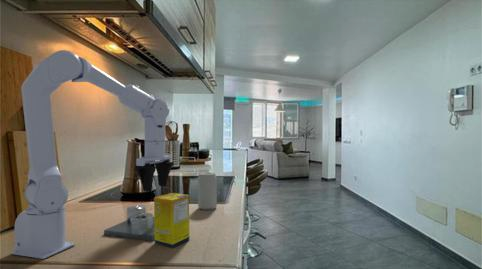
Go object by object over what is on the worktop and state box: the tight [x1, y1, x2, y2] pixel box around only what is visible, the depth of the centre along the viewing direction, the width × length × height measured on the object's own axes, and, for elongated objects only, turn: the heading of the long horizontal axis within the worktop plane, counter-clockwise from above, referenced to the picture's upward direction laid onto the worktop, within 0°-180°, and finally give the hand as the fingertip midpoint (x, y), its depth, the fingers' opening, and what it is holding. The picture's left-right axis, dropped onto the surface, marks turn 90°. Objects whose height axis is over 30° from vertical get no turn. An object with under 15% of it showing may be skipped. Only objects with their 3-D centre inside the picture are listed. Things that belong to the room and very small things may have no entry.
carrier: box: [103, 205, 155, 242], centre depth 78 cm, size 14×14×5 cm
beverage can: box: [197, 171, 218, 211], centre depth 100 cm, size 6×6×12 cm
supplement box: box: [153, 192, 190, 249], centre depth 69 cm, size 6×6×11 cm
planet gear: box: [131, 214, 154, 235], centre depth 73 cm, size 5×5×4 cm
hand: (155, 188), depth 84 cm, fingers open, 7 cm apart
